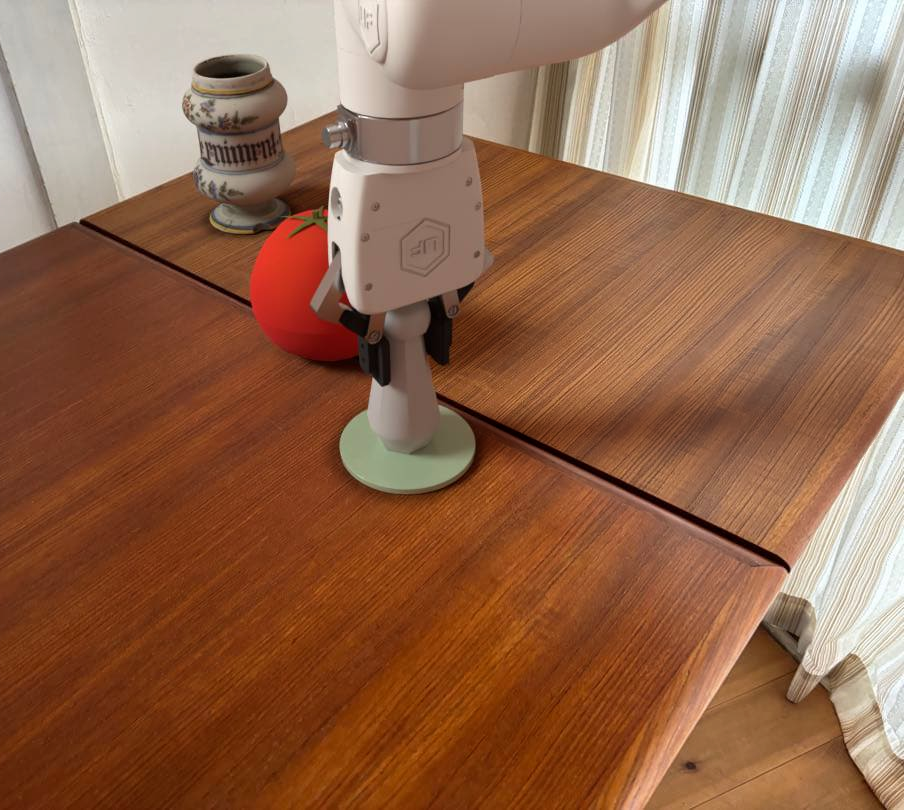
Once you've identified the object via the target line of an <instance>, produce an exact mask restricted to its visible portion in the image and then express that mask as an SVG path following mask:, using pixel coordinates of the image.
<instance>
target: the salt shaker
mask: <svg viewBox="0 0 904 810" xmlns="http://www.w3.org/2000/svg"><path fill="white" fill-rule="evenodd" d="M427 301H428V299H426V300H423V301H419V302H416V303H413V304H410V305H407V306H403V307H400V308H397V309H394V310H390V311H387V312H386V318H385V323H384V328H383V335H384V336H385V337H386V338H387V339H388V341H389V343H390V367H391V382H390V383H389V385H387V386H384V387H381V386H380V385H379V384H378V382H377V381H376V380H375V379H374V378H373V377H372V380H371V386H370V393H369V398H368V405H367V409H368V411H367V415H368V420H369V424H370V428H371V429H372V431H373V432H374V433H375V434H376V436H377V437H378V438H379V439H380V440H381V442H382V443H383V444H384V446H385V448H386V449H387V450H388V451H394V452H399V453H405V454H410V453H412V452H415V451H417V450H419V449H421V448H423V447H425V446H427V445H428V443H429V441H430V440H431V438H432V436H433V434H434V432H435V430H436V428H437V426H438V423H439V421H440V416H441V415H440V410H439V406H438V405H439V401H438V398H437V394H436V390H435V385H434V381H433V375H432V372H431V366H430V362H429V357H428V356H429V355H428V354H427V352H426V347H425V342H424V337H423V334H424V333H425V332H426V330H427V328H428V326H429V324H430V318H431V314H430V309H429V305H428V302H427Z"/></svg>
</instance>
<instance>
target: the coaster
mask: <svg viewBox="0 0 904 810" xmlns="http://www.w3.org/2000/svg"><path fill="white" fill-rule="evenodd" d="M438 406H439V410H440V415H441V416H440V421H439V423H438V426H437V428H436V430H435V432H434V434H433V436H432V438H431V440H430V441H429V443H428V445H427V446H425V447H423V448H421V449H419V450H417V451H415V452H412V453H410V454H405V453H399V452H394V451H388V450H387V449H386V448H385V446H384V444H383V443H382V442H381V440H380V439H379V438H378V437H377V436H376V434H375V433H374V432H373V431H372V429H371V428H370V424H369V420H368V415H367V411H368V408H366V409H365V410H363V411H361V412H360V413H358V414H357V415H355V416H354V417H352V419H351V420H350V421H349V422H348V423H347V425H346V426H345V427H344V429H343V431H342V433H341V435H340V439H339V454H340V459H341V462H342V464H343V466H344V467H345V469H346V470H347V472H348V473H349V474H350V475H351V476H352V477H353V478H354V479H355V480H357V481H358V482H359V483H361V484H363V485H364V486H367V487H369V488H371V489H374V490H377V491H380V492H384V493H387V494H395V495H419V494H426V493H431V492H435V491H437V490H441V489H443V488H445V487H447V486H450V485H451V484H453V483H455V482H456V481H458V480H459V479H460V478H461V477H462V476H464V475H465V474H466V472H467V471H468V470H469V469H470V467H471V466H472V464H473V462H474V460H475V455H476V444H477V443H476V437H475V434H474V431H473V429H472V427H471V426H470V425H469V423H468V422H467V421H466V420H465V419H464V418H463V417H462V416H461V415H459V414H458V413H456V411H454V410H452V409H450V408H448V407H446V406H444V405H441V404H438Z"/></svg>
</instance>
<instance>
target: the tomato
mask: <svg viewBox="0 0 904 810" xmlns="http://www.w3.org/2000/svg"><path fill="white" fill-rule="evenodd" d="M279 217H289V218H287V219H286V220H285V221H283V222H282V223H281V224H280V225H279V226H278V227H277V228H275V229H274V231H272V233H271V234H269V236H268V237H267V238H266V240H265V241H264V242H263V245H262V247H261V249H260V251H259V252H258V255H257V257H256V259H255V262H254V266H253V268H252V272H251V276H250V285H249V286H250V287H249V299H250V303H251V308H252V312H253V316H254V317H255V320H256V322H257V324H258V326H259V327H260V329H261V330H262V332H263V333H264V334H265V335H266V337H267V338H268V339H269V340H270V341H271V342H272V343H273V344H274V345H276V346H277V347H278V348H280V349H281V350H282V351H284V352H287V353H288V354H290V355H294V356H296V357H301V358H304V359H309V360H313V361H320V362H336V361H342V360H347V359H351V358H354V357H357V356H358V357H359V348H358V335H357V334H355V333H354V332H352V331H350V330H348V329H347V328H345V327H344V326H343V325H340V324H335V323H332V322H329V321H326V320H323V319H320V318H318V317H317V316H316V314H315V313H314V312H313V311H312V310H311V309H310V302H311V300H312V298H313V296H314V294H315V293H316V291H317V289H318V287H319V285H320V283H321V281H322V279H323V278H324V276H325V274H326V272H327V270H328V268H329V258H328V209H327V208H326V209H324V205H322V206H320V207H319V208H318V209H317V208H316V209H309V210H305V211H301V212H299V213H296V214H293V215H290V216H279ZM339 302H340V303H341V302H344V303H346V304H348V305H349V306H351V307H352V305H351V303H350V301H349V299H348V296H347V293H346V290H345V291H344V293H343V295H342V297H341V299H340V301H339Z"/></svg>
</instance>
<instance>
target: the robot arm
mask: <svg viewBox="0 0 904 810" xmlns="http://www.w3.org/2000/svg"><path fill="white" fill-rule="evenodd" d="M668 1H669V0H333V10H334V11H333V14H334V30H335V44H336V59H337V61H336V62H337V74H338V75H337V77H338V90H339V104H337V105H336V108H337V118H336V120H334V121H332V123H331V124H327V125H323V126H322V127H321V140H322V143H323V144H324V146H325V148H326V149H333V148H338V149H340V150H339V151H336V152H335V153H334V157H333V162H332V168H331V175H330V182H329V183H330V184H329V194H328V207H327V210H328V258H329V268H328V270H327V272H326V274H325V276H324V278H323V279H322V281H321V283H320V285H319V287H318V289H317V291H316V293H315V294H314V296H313V298H312V300H311V302H310V309H311V310H312V311H313V312H314V313H315V314H316V316H317V317H318V318H320V319H323V320H326V321H329V322H332V323H335V324H340V325H343V326H344V327H345V328H347V329H348V330H350V331H352V332H354V333H355V334H357V335H358V348H359V355H358V360H359V365H360V368H361V370H362V371H363V373H365V374H366V376H367V375H368V376H369V375H370V376H371V377H372V379H373V378H374V379H375V380H376V381H377V382H378V384H379V385H380V386H381V387H384V386H387V385H389V383H390V382H391V367H390V343H389V341H388V339H387V338H386V337H385V336H384V335H383V328H384V323H385V318H386V312H387V311H390V310H394V309H397V308H400V307H403V306H407V305H410V304H413V303H416V302H419V301H423V300H427V302H428V305H429V309H430V314H431V318H430V324H429V326H428V328H427V330H426V332H425V333H424V334H423V337H424V342H425V347H426V352H427V356H429V357H430V358H431V359H432V360H433V361H434V362H435V363H436V364H437V365H438V366H441V367H445V366H447V365H450V362H451V361H450V360H451V358H450V357H451V355H450V354H451V347H452V344H453V326H454V325H453V324H454V323H453V322H454V321H453V320H454V319H455V318H456V317H457V316H458V315H459V314H460V313H461V303H462V302H463V301H464V299H465V298H466V297H467V296H468V294H469V293H470V291H471V290H472V289H473V288H474V287H475V284H476V283H475V281H476V280H477V281H478V280H479V279H480V278H481V277H482V276H483V275H485V273H486V272H488V270H489V269H490V268H491V267H492V266H493V264H494V263H495V256H494V255H493V254H492V252H490V250H489V248H487V246H486V244H485V219H484V218H485V215H484V202H483V201H484V200H483V190H482V181H481V174H480V168H479V163H478V158H477V153H476V148H475V144H474V142H473V140H471V139H470V138H469V137H467V136H464V105H465V104H464V103H465V102H464V101H465V98H464V96H465V84H466V83H471V82H476V81H481V80H486V79H489V78H493V77H495V76H498V75H504V74H509V73H513V72H518V71H524V70H529V69H532V68H539V67H543V66H548V65H553V64H559V63H563V62H564V63H565V62H569V61H573V60H578V59H581V58H583V57H587V56H590V55H592V54H595V53H597V52H600V51H601V50H604V49H605V48H607V47H609V46H611V45H613V44H614V43H616V42H617V41H619V40H620V39H622V38H624V37H625V36H626V35H628V34H630V32H632V31H634V29H636V28H638V27H639V26H640V25H641V24H642V23H643V22H645V21H646V20H647V19H648V18H649V17H651V16H652V15H653V14H655V12H657V10H659V9H660V8H661V7H662V6H663V5H665V4H667V2H668ZM345 290H346V293H347V296H348V299H349V301H350V303H351V305H352V307H351V306H349V305H348V304H346V303H344V302H341V303H340V302H339V301H340V299H341V297H342V295H343V293H344V291H345Z"/></svg>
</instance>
